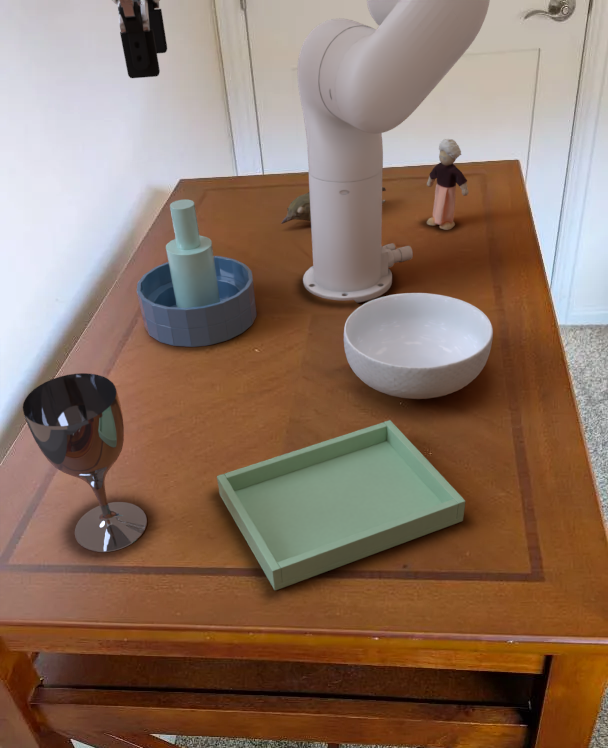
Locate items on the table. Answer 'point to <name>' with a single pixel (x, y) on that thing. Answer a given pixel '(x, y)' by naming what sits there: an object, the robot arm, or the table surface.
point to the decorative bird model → (302, 208)
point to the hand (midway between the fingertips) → (149, 64)
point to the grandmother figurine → (446, 185)
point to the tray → (337, 502)
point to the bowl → (198, 321)
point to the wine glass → (86, 450)
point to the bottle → (191, 259)
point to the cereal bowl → (417, 344)
